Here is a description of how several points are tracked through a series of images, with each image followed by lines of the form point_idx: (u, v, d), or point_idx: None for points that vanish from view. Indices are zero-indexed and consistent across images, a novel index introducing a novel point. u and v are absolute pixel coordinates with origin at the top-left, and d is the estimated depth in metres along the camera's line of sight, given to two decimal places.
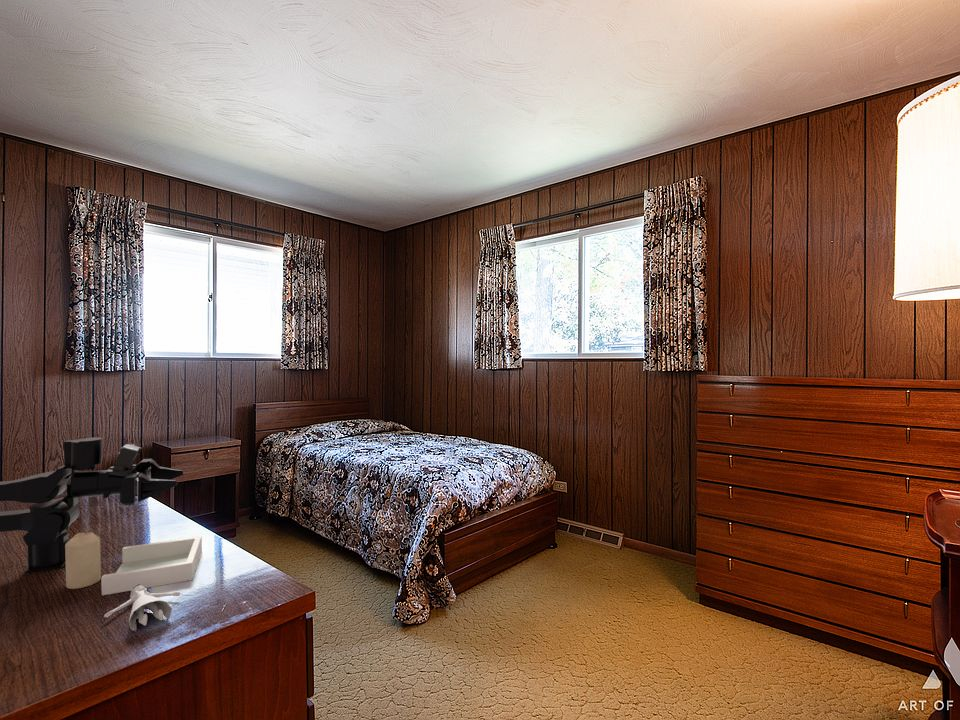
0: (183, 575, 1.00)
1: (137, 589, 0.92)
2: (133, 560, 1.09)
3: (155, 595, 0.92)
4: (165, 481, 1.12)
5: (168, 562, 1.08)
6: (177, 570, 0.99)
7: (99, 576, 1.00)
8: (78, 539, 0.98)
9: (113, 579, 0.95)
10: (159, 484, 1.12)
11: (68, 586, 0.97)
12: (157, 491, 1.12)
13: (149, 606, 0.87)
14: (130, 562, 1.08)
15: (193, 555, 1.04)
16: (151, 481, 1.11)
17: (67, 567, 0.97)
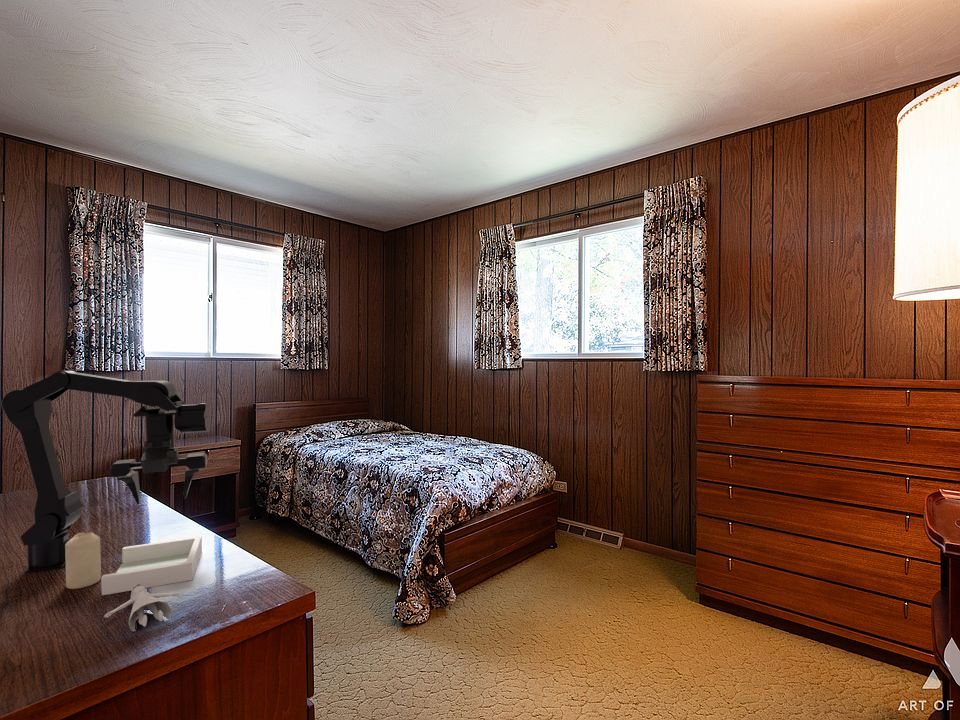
0: (183, 575, 1.00)
1: (137, 589, 0.92)
2: (133, 560, 1.09)
3: (155, 595, 0.92)
4: (133, 495, 1.11)
5: (168, 562, 1.08)
6: (177, 570, 0.99)
7: (99, 576, 1.00)
8: (78, 539, 0.98)
9: (113, 579, 0.95)
10: None
11: (68, 586, 0.97)
12: None
13: (149, 607, 0.86)
14: (130, 562, 1.08)
15: (193, 555, 1.04)
16: None
17: (67, 567, 0.97)
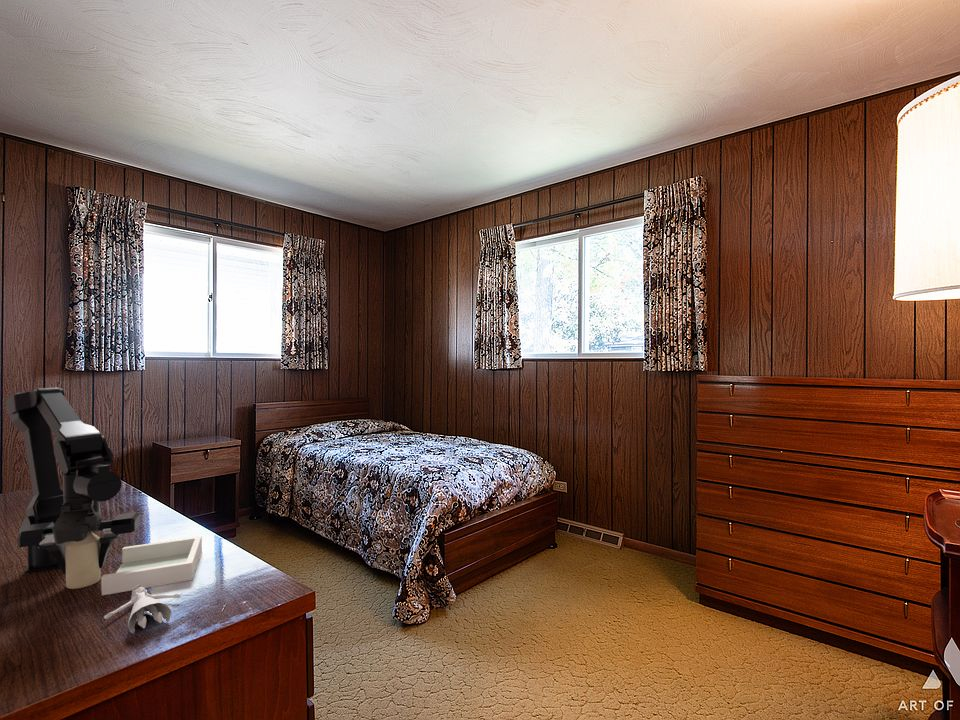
0: (183, 575, 1.00)
1: (138, 590, 0.92)
2: (133, 560, 1.09)
3: (155, 597, 0.91)
4: None
5: (168, 562, 1.08)
6: (177, 570, 0.99)
7: (99, 576, 1.00)
8: None
9: (113, 579, 0.95)
10: None
11: (68, 586, 0.97)
12: None
13: (149, 608, 0.86)
14: (130, 562, 1.08)
15: (193, 555, 1.04)
16: None
17: (67, 567, 0.97)
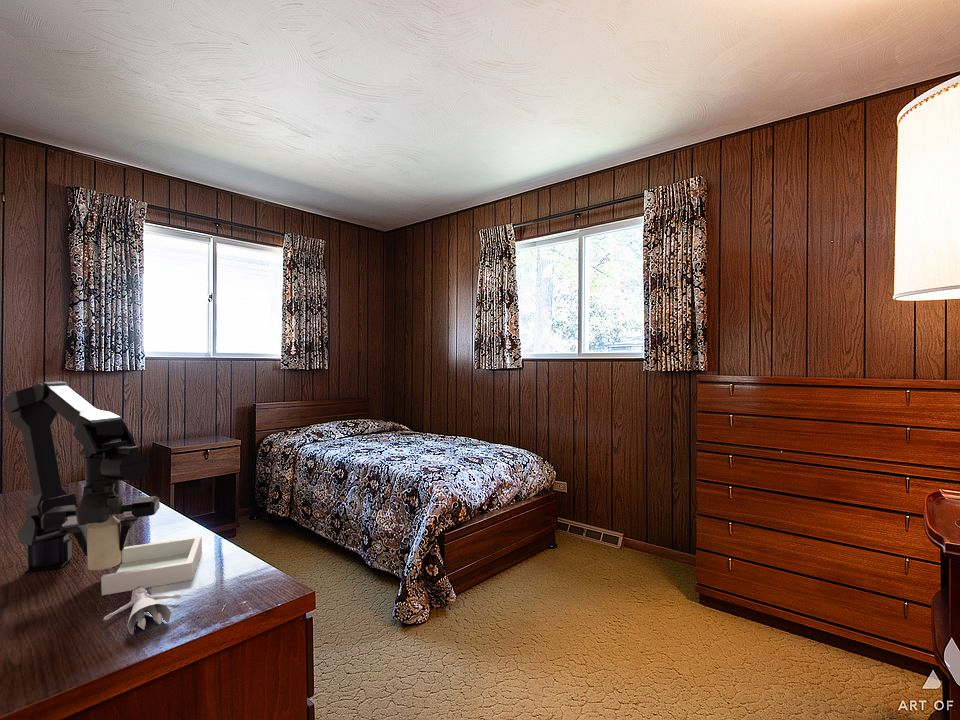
0: (183, 575, 1.00)
1: (138, 591, 0.92)
2: (133, 560, 1.09)
3: (156, 597, 0.91)
4: None
5: (168, 562, 1.08)
6: (177, 570, 0.99)
7: (120, 558, 1.02)
8: None
9: (113, 579, 0.95)
10: None
11: (90, 568, 0.98)
12: None
13: (149, 609, 0.86)
14: (130, 562, 1.08)
15: (193, 555, 1.04)
16: None
17: (89, 549, 0.98)
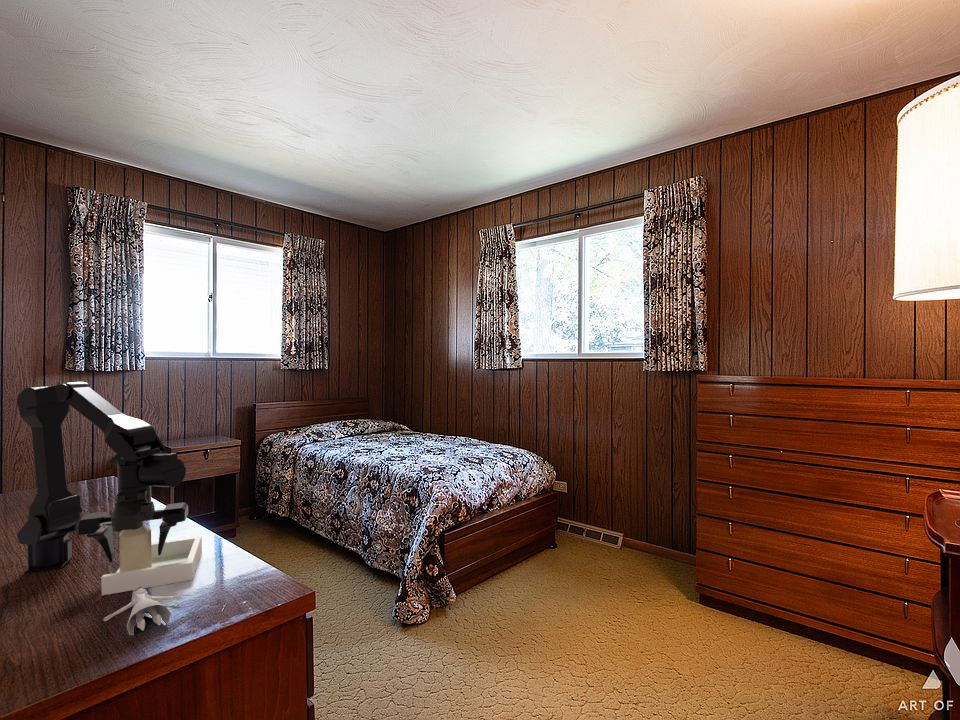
0: (183, 575, 1.00)
1: (138, 592, 0.91)
2: None
3: (156, 598, 0.91)
4: None
5: (168, 562, 1.08)
6: (177, 570, 0.99)
7: (150, 566, 1.04)
8: (132, 530, 1.01)
9: (113, 579, 0.95)
10: None
11: None
12: None
13: (149, 610, 0.85)
14: None
15: (193, 555, 1.04)
16: None
17: (121, 557, 1.01)
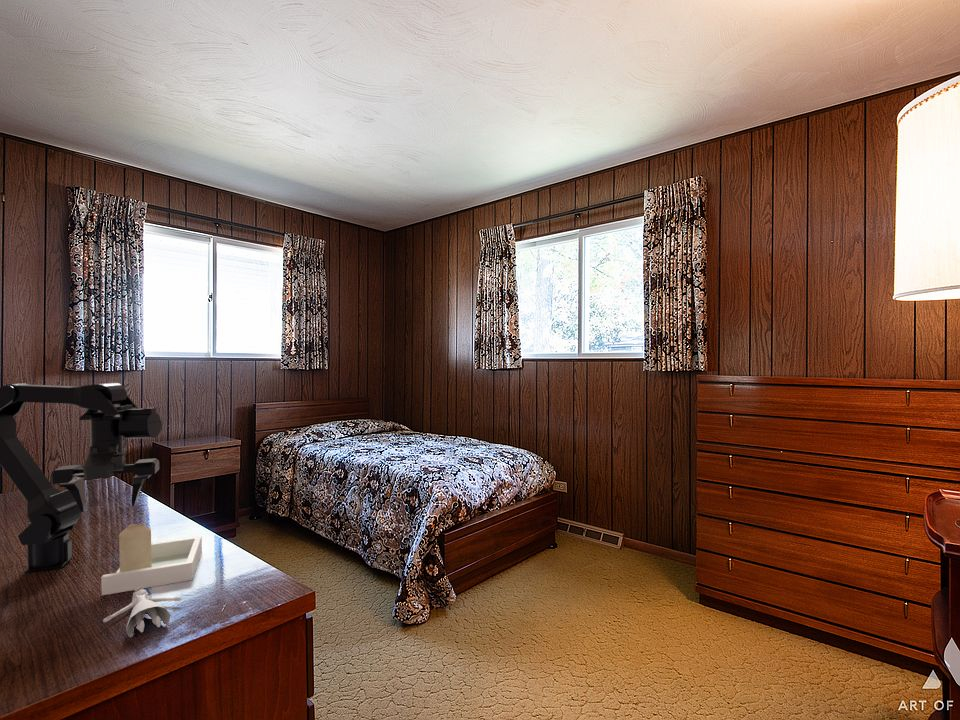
0: (183, 575, 1.00)
1: (138, 593, 0.91)
2: None
3: (156, 600, 0.90)
4: (77, 503, 1.06)
5: (168, 562, 1.08)
6: (177, 570, 0.99)
7: (150, 566, 1.04)
8: (131, 530, 1.01)
9: (113, 579, 0.95)
10: None
11: None
12: None
13: (148, 611, 0.85)
14: None
15: (193, 555, 1.04)
16: None
17: (121, 557, 1.01)
